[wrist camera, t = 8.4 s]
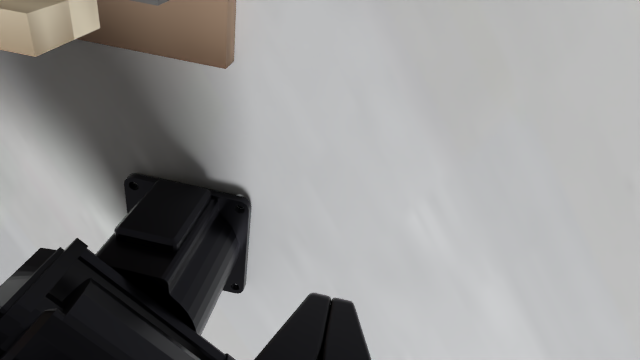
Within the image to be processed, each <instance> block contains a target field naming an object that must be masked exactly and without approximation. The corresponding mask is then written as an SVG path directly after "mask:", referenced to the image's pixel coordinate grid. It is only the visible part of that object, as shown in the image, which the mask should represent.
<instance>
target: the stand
mask: <svg viewBox="0 0 640 360" xmlns="http://www.w3.org/2000/svg"><path fill="white" fill-rule="evenodd" d="M97 6H98V14H99V22H100V28H99V29H97V30H95V31H93V32H90V33H88V34H86V35H84V36H81V37H79V38H77V39H79V40H84V41H89V42H94V43H99V44H104V45H109V46H114V47H119V48H124V49H129V50H134V51H139V52H144V53H149V54H154V55H159V56H164V57H169V58H174V59H179V60H184V61H189V62H194V63H199V64H204V65H209V66H214V67H219V68H224V69H226V68H227V67H228V66H229V65H230V64H231V63H232V62H233V61H234V44H235V17H236V0H97Z"/></svg>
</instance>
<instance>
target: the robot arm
mask: <svg viewBox="0 0 640 360" xmlns="http://www.w3.org/2000/svg"><path fill="white" fill-rule="evenodd" d="M133 182H135V183H136V184H137V185H138V186H137V185H135V184H134V183H133ZM124 187H125V195H126V204H127V213H128V214H127V215H126V216H125V218H124V219H123V220H122V221H121V222H120V223H119V224H118V226H117V227H116V228H115V233H114V234H113V235H112V236H111V237H110V238H109V239H108V241H107V242H106V243H105V244H104V245H103V246H102V247H101V249H100V250H99V251H98V252H97V253H96V254H94V253H92V252H91V251H90V250H89V249H87V247H88V246H87V245H86V244H85V243H83V242H82V241H81V240H80V239H78V238H76V239H75V240H74V241H73V242H72V243H71V244H70V245H69V246H68V247H67V248H66V249H65V250H63V249H62V248H61V247H60V248H59V249H58V250H52V249H45V248H40V249H39V250H38V251H37V252H36V253H35V254H34V255H33V256H32V257H30V258H29V259H28V260H27V261H26V262H25V263H24V264H23V265H22V266H21V267H20V268H19V269H18V270H17V271H16V272H15V273H14V274H13V275H12V276H11V277H10V278H8V279H7V280H6V281H5V282H4V283H3V284H2V285H1V286H0V360H235V359H234V358H233V357H231V356H230V355H229V354H224V353H223V352H221V351H220V350H219V349H217V348H216V347H215V346H213V345H212V344H211V343H210V342H208V341H207V340H206V339H204V338H203V337H202V336H201V334H202V332H203V330H204V328H205V325H206V323H207V321H208V319H209V317H210V315H211V313H212V311H213V309H214V307H215V304H216V302H217V300H218V298H219V296H220V294H221V292H222V290H224V291H228V292H232V293H241V292H242V291H243V289H244V287H245V285H246V274H247V260H248V246H249V232H250V218H251V203H250V202H249V200H248V199H246V198H244V197H241V196H236V195H232V194H227V193H223V192H218V191H214V190H209V189H205V188H201V187H196V186H192V185H187V184H182V183H178V182H173V181H169V180H164V179H159V178H154V177H150V176H145V175H140V174H131V175H130V176H129V177H128V178H127V179H126V180H125V182H124ZM237 205H240V206H242V207H243V208H244V209H241V208H239V207H238V206H237ZM236 284H237V285H236ZM330 304H331V305H330ZM254 360H371V357H370V354H369V351H368V348H367V344H366V341H365V338H364V335H363V332H362V328H361V325H360V322H359V319H358V316H357V312H356V309H355V306H354V304H353V303H352V302H351V301H348V300H344V299H339V298H333V299H332V301H331V298H330V297H329V296H326V295H322V294H318V293H311V294H309V295H308V296H307V298H306V299H305V300H304V301H303V302H302V304H301V305H300V306H299V307H298V308H297V310H296V311H295V312H294V313H293V314H292V315H291V317H290V318H289V319H288V320H287V321H286V323H285V324H284V325H283V326H282V327H281V329H280V330H279V331H278V332H277V333H276V334H275V336H274V337H273V338H272V339H271V340H270V342H269V343H268V344H267V345H266V346H265V348H264V349H263V350H262V351H261V352H260V353H259V355H258V356H257V357H256V358H255V359H254Z"/></svg>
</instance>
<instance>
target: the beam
mask: <svg viewBox="0 0 640 360" xmlns="http://www.w3.org/2000/svg"><path fill="white" fill-rule="evenodd" d="M99 28H100V22H99V14H98V6H97V0H0V50H4V51H9V52H14V53H19V54H23V55H28V56H33V57H37V56H39V55H41V54H43V53H46V52H48V51H50V50H52V49H54V48H57V47H59V46H61V45H63V44H66V43H68V42H70V41H72V40H75V39H77V38H79V37H81V36H84V35H86V34H88V33H90V32H93V31H95V30H97V29H99Z"/></svg>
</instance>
